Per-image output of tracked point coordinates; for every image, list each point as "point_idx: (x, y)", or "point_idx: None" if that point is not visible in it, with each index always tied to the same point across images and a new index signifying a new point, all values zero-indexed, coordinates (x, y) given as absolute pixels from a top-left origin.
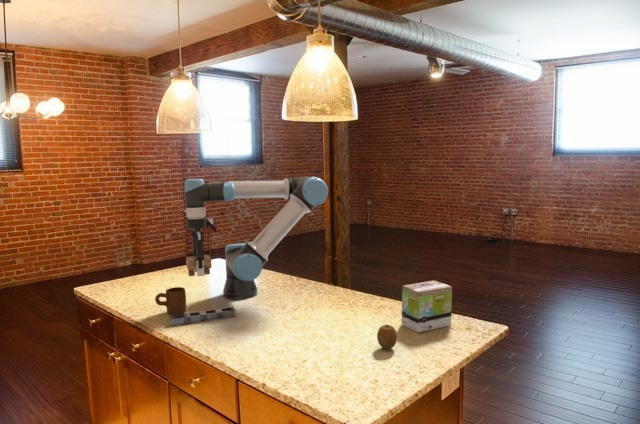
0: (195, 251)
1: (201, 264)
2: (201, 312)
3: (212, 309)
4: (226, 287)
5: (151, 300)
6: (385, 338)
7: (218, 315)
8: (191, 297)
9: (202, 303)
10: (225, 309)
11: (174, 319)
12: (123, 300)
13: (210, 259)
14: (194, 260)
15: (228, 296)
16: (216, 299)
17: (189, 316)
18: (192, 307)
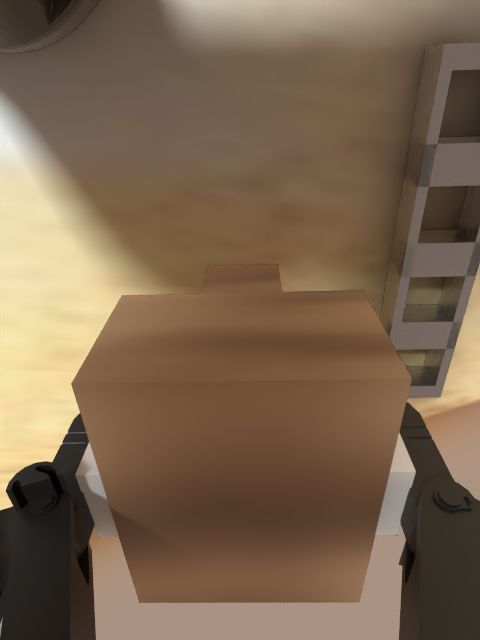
0: (91, 607)
1: (428, 449)
2: (430, 266)
3: (417, 200)
4: (5, 18)
5: (26, 427)
6: None
7: None
8: (3, 266)
9: (140, 219)
10: (441, 109)
11: (442, 382)
12: (8, 502)
13: (403, 372)
14: (369, 547)
15: (78, 17)
16: (76, 119)
17: (454, 325)
18: (197, 277)
